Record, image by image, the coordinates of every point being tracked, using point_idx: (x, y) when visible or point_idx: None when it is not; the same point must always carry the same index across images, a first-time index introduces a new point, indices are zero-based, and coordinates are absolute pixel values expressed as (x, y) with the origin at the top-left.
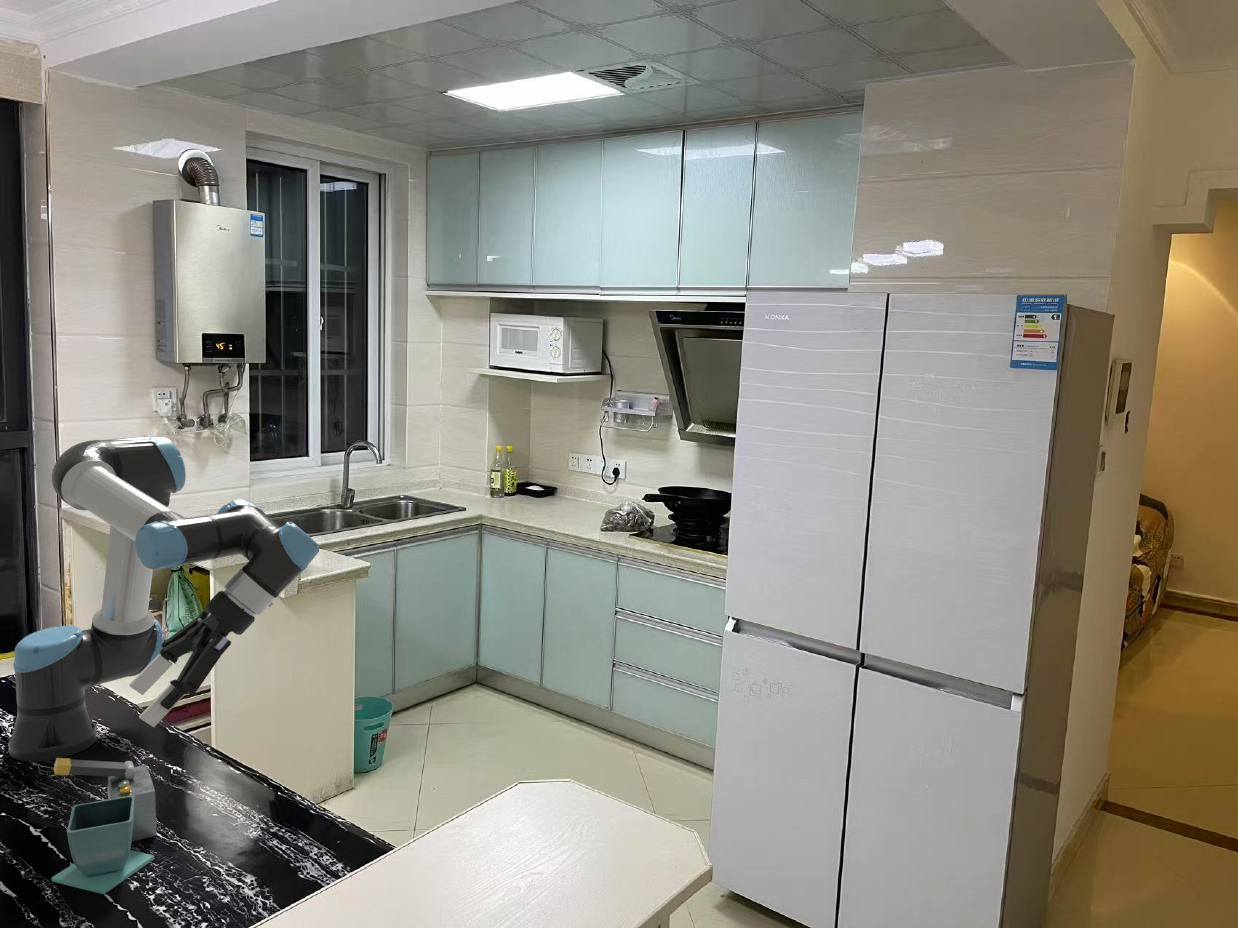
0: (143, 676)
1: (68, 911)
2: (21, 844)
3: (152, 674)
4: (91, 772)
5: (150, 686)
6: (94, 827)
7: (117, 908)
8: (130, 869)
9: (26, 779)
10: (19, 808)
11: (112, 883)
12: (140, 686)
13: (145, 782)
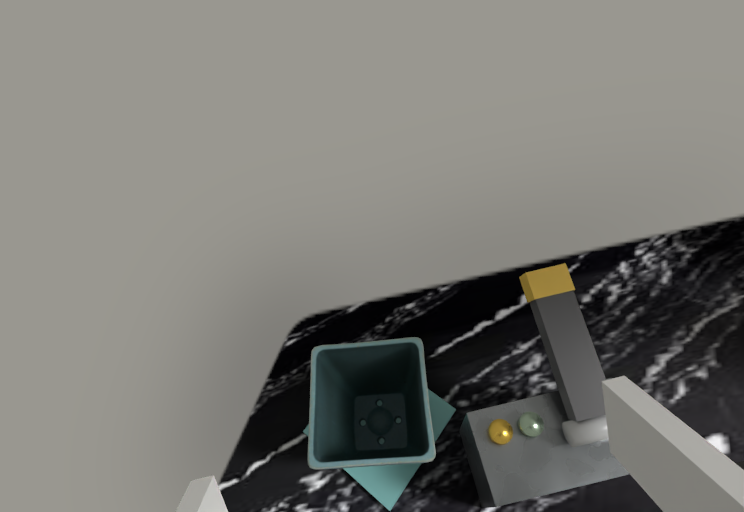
0: (657, 446)
1: (279, 387)
2: (493, 285)
3: (689, 503)
4: (546, 345)
5: (645, 490)
6: (312, 393)
7: (254, 460)
8: (353, 469)
9: (726, 240)
10: (614, 256)
11: None
12: (624, 435)
13: (547, 476)
